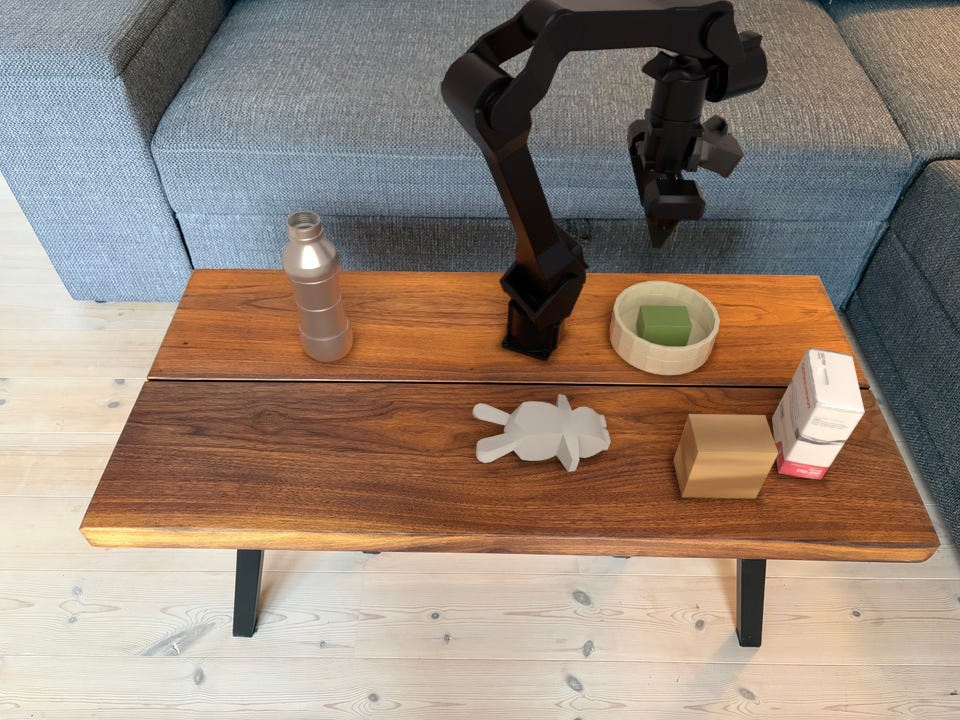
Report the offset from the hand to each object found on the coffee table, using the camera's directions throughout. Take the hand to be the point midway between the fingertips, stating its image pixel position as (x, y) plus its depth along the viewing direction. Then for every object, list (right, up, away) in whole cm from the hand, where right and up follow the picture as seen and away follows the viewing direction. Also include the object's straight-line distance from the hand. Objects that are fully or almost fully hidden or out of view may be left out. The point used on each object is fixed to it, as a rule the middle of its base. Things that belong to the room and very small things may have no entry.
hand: (650, 226), depth 92 cm
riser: (+4, -30, -13) cm, 33 cm away
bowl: (+2, -14, +3) cm, 15 cm away
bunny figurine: (-15, -27, -10) cm, 32 cm away
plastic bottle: (-41, -16, +1) cm, 44 cm away
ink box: (+14, -27, -10) cm, 32 cm away
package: (+2, -14, +2) cm, 14 cm away
